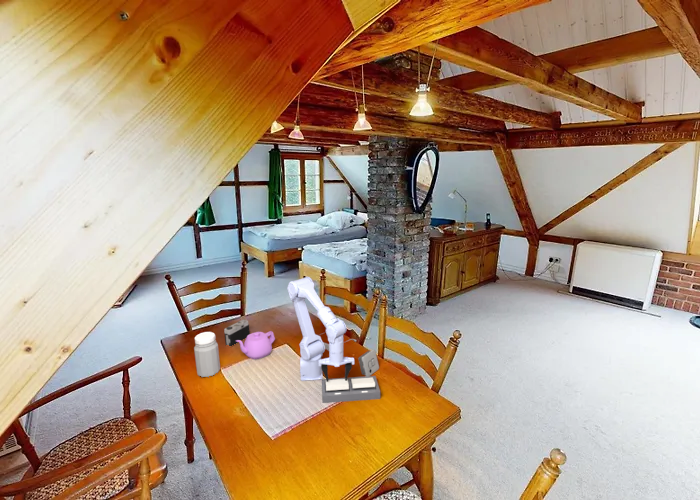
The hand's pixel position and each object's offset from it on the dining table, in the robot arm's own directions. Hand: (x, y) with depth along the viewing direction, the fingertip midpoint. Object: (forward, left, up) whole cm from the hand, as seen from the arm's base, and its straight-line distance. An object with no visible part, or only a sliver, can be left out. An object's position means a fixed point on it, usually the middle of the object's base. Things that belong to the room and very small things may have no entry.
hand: (336, 379), depth 140 cm
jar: (-57, +18, -5) cm, 60 cm away
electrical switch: (+15, +11, -5) cm, 20 cm away
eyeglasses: (+2, +40, -5) cm, 41 cm away
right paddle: (+11, -2, -2) cm, 11 cm away
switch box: (+5, -2, -4) cm, 7 cm away
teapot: (-38, +32, -5) cm, 50 cm away
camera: (-51, +48, -5) cm, 70 cm away
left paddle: (0, -2, -2) cm, 3 cm away
